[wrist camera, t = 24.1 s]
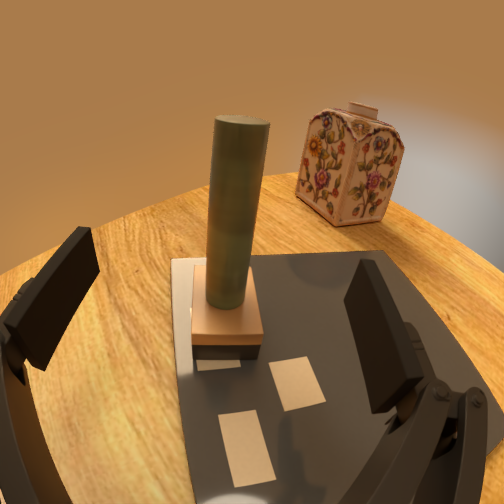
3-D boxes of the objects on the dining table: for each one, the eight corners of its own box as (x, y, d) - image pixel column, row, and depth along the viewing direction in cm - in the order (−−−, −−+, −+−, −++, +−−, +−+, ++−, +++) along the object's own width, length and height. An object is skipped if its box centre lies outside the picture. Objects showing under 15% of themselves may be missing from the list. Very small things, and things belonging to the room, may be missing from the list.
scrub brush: (194, 292, 24) (200, 108, 16) (247, 293, 25) (273, 114, 17) (192, 360, 19) (191, 128, 10) (257, 359, 19) (306, 138, 11)
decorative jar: (333, 228, 40) (365, 105, 30) (292, 194, 48) (310, 91, 38) (384, 221, 45) (414, 121, 34) (342, 192, 53) (363, 103, 43)
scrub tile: (171, 267, 28) (170, 257, 28) (379, 257, 35) (383, 249, 34) (217, 580, 6) (218, 584, 6) (503, 434, 13) (512, 428, 12)
